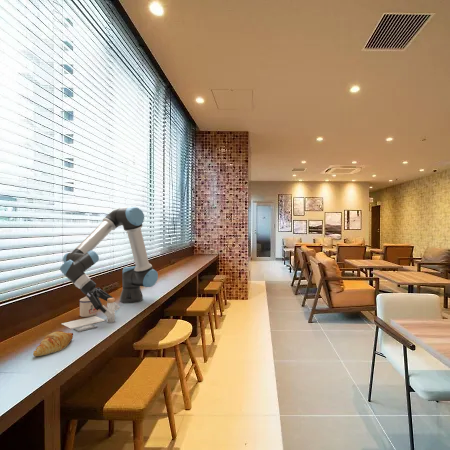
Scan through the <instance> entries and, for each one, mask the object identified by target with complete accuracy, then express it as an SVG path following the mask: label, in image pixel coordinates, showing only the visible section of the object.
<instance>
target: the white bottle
mask: <svg viewBox="0 0 450 450" xmlns="http://www.w3.org/2000/svg"><path fill="white" fill-rule="evenodd" d="M106 302H107V305H106V306H107V307H106V308H107V309H108V310H109V311H110V312H111V313H112V315H111V316H110V317H109V318H108V317H107V316H106V321H107V323H109V324H111V323H112V322H113V323H115V321H116V320H115V319H116V315H115V314H116V312H115V311H116V310H115V303H116V298H115V297H113V298H108V299H107V301H106Z"/></svg>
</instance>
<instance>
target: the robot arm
mask: <svg viewBox="0 0 450 450" xmlns="http://www.w3.org/2000/svg"><path fill="white" fill-rule="evenodd" d="M144 221H145V213H144V212H143V210H142V209H141V208H140V207H137V206H124V207H117V208H115V209H114V210H111V211H110V212H109V213H108V214H107V215H105V217H103V219H102V222H101V223H100V224H99V225H98V226H97V227H96V228H95V229H94V230H93V231H91V233H90V234H89V235H88V236H87V237H86V238H85V239H84V240H83V241H81V243H79V245H78V246H76V247H75V249H74V250H72V251H71V252H67V253H65V254H64V255H63V257H62V262H63V264H62V265H61V266H60V268H59V271H60V272H61V273H62V274H63V275H64V276H65V277H66V278H67V279H68V280H69V281H70V282H71V283H73V285H74V286H75V287H76V288H77V289H80V291H81V292H82V293H83V294H84V295H85V297H86V296H87V297H88V298H89V300H90V301H91V303H92V304H93V306H94V307H95V309H96V311H100V312H102V314H103V315H104V316H105V317H106V318H107V317H108V318H109V317H110V316H111V315H112V313H111V312H110V311H109V310H108V309H107V307H106V306H105V305H103V304H102V302H101V300H104V301H105V302H107V299H108V298H114V297H113V296H111V295H110V294H109V293H108V292H106V291H104V290H103V289H102V288H100V287H98V286H97V283H96V282H95V281H94V280H92V279H91V277H90V276H89V275H88V274H87V273H85V272H86V271H87V270H88V269H90V268H91V267H93V266H94V265H95V264H96V263H98V262H99V260H100V257H99V255H98V253H97V252H96V251H95V250H94V249H95V248H96V247H97V246H98V245H99V244H100V243H101V242H102V241H103V240H104V239H105V238H106V237H107V236H108V235H109V234H110V233H111V232H112V231H115V230H116V229H117V228H119V227H120V226H122V227H123V231H124V232H126V233H127V237H128V240H129V245H130V249H131V253H132V256H133V260H134V261H133V262H134V263H135V266H128V267H127V266H126V267H123V268H122V273H121V274H122V275H121V276H122V282H121V283H122V290H121V292H120V295H119V296H120V297H119V301H120V302H121V303H127V304H128V303H130V304H131V303H138V302H141V301H143V300H144V296H143V292H142V290H141V287H144V288H152V287H153V286H155V285H156V283H157V281H158V280H159V274H158V273H159V272H158V271H157V270H156V269H154V267H153V265H152V264H151V263H150V262H149V258H148V253H147V249H146V244H145V241H144V237H143V233H142V228H143V223H144ZM120 308H121V306H120V305H119V304H118V303H117V302H115V311H116V312H117V311H118V310H119V309H120Z"/></svg>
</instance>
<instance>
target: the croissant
mask: <svg viewBox="0 0 450 450" xmlns="http://www.w3.org/2000/svg"><path fill="white" fill-rule="evenodd" d="M73 339H74V333H73V332H65V331H62V330H61V331H60V330H58V331H57V330H56V331H53V332H51V333H48V334H47V335H45V336H44V337H43V339H42V340H41V342H40V343H39V345H38V346H36V348H35V350H34V351H33V354H32V355H33V357H41V356H45V355H50V354H53V353H57V352H61V351H62V350H63V349H65V348H67V347H68V345H69V343H70V342H71V341H72V340H73Z"/></svg>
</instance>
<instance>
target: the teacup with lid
mask: <svg viewBox="0 0 450 450" xmlns="http://www.w3.org/2000/svg"><path fill="white" fill-rule="evenodd" d="M78 302H79V316H80V317H82V318H88V317H93V316H96V315H97V310H96V309H95V307H94V306H93V304H92V303H91V301H90V300H89V298H88V297H87V296H86V295H85V296H84V297H82V298H80V299H79V301H78Z"/></svg>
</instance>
